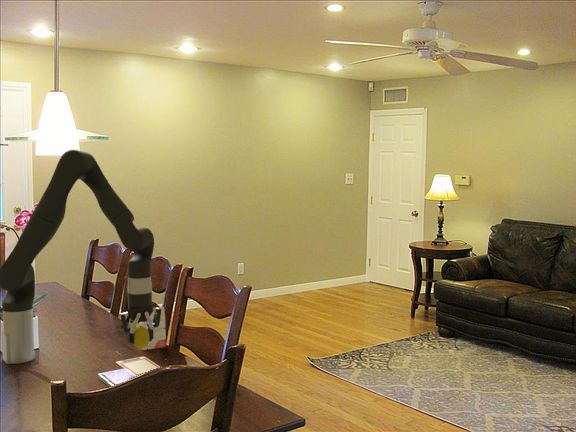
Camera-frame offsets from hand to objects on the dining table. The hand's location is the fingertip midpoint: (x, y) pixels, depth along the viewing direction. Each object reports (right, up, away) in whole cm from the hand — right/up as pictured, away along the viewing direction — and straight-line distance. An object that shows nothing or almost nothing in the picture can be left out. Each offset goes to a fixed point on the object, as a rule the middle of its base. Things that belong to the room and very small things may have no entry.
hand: (140, 342), depth 202 cm
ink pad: (-3, -9, -12) cm, 15 cm away
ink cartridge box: (-1, -6, +22) cm, 23 cm away
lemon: (0, -3, 0) cm, 3 cm away
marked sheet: (0, -8, +1) cm, 8 cm away
